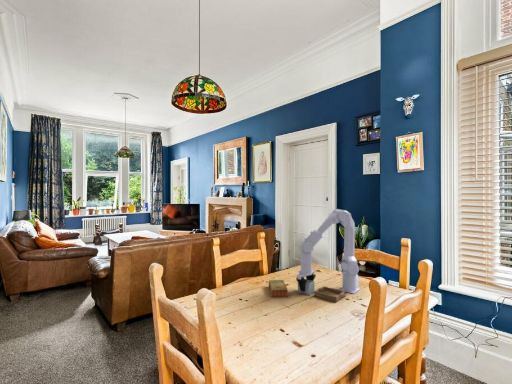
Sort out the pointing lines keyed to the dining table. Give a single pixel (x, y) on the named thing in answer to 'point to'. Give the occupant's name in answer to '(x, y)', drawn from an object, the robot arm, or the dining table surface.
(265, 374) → the dining table surface
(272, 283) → the carton
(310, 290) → the small crate
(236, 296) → the dining table surface
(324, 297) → the big crate
